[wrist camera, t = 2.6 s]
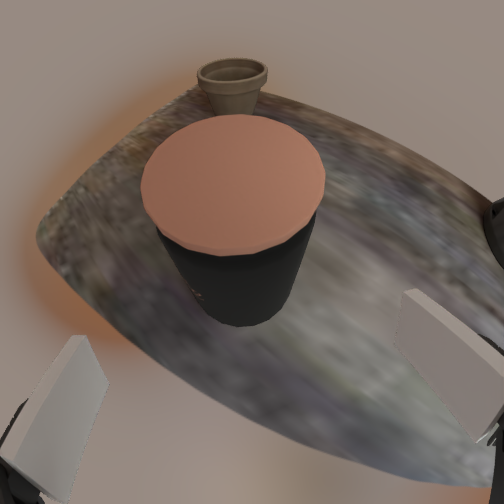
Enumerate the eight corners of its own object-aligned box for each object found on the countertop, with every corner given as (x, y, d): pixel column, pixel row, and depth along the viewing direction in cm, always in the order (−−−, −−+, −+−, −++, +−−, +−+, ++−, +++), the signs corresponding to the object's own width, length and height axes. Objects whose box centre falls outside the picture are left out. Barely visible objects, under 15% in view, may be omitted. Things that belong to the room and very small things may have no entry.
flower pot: (231, 94, 49) (228, 52, 40) (278, 111, 46) (281, 65, 37) (190, 120, 45) (181, 74, 36) (238, 141, 42) (236, 88, 33)
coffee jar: (203, 238, 33) (168, 115, 17) (290, 244, 33) (318, 118, 17) (189, 324, 29) (114, 242, 13) (288, 332, 28) (334, 257, 12)
